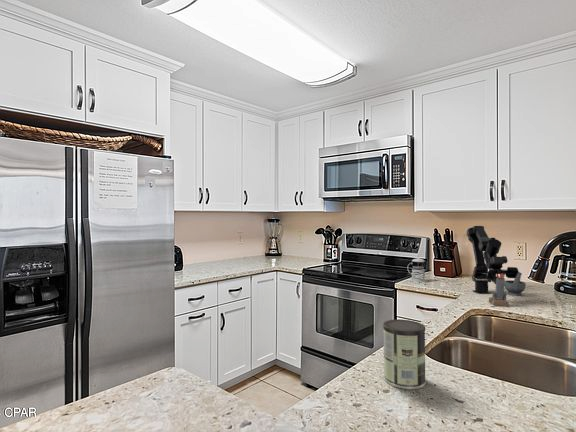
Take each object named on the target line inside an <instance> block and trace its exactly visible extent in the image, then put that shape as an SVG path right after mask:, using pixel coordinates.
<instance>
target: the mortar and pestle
mask: <svg viewBox="0 0 576 432" xmlns="http://www.w3.org/2000/svg"><path fill="white" fill-rule="evenodd" d="M521 278H522V272H520V271H519V272H518V274H517V276H516V278H513V279H514V280H505V283H504V289H505V290H506V291H507V295H508V296H512V297H522V296H523V295H522V293H523V292H524V291H525V289H526V286H527V285H526V282H524V281H521Z"/></svg>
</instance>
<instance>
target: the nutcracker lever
mask: <svg viewBox="0 0 576 432" xmlns="http://www.w3.org/2000/svg"><path fill="white" fill-rule="evenodd" d="M496 276H497V275H496ZM505 281H506V278H505V275H504V274H502V273H498V276H497V278H496V284H495V292H494V293H495V294H496V298H501V299H503V297H504V292H505V286H504V283H505Z"/></svg>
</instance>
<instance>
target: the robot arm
mask: <svg viewBox="0 0 576 432" xmlns="http://www.w3.org/2000/svg"><path fill="white" fill-rule="evenodd" d="M466 237H467V238H468V241H469V242H470V243H471V244H472V248H473V249H472V250H473V255H474V260H475V266H474V268H473V270H472V275H471V281H473V282H474V290H472V292H474V293H477V294H480V295H481V294H482V295H483V294H491V291H489V283H491V282H492V283H494V285H496V278H497V276H498V273H502V274H504V276H505V277H506V278H508V279H515V278H516V276H517V274H518V272H520V271H519V268H518V267H516V266H507V268H506V269H503V265H504V264H507V263H508V257H507V256H506V255H503V256H498V254H499V252H500V250H501V247H502V241H500V240H499V239H496V237H489V235H488V234H487V232H486V230H485V226H483V225H474V226H473V227H470V228H468V229H467V230H466Z"/></svg>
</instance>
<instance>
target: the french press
mask: <svg viewBox="0 0 576 432" xmlns="http://www.w3.org/2000/svg"><path fill="white" fill-rule="evenodd" d="M416 246H420V243H417V244H416ZM413 263H425V260H424V259H422V258H419V257H417V258H413V259H412V260H411V262H410V263H409V264H408V265H407V271H408V274H410V275H411V280H412V281H415V282H425V281H426V279H425V277H426V276H425V275H426V273H425V272H426V271H425V270H426V269H425V267H424V266H421V265H420V266H419V265H414V266H412V269H411V271H410V270H409V265H410V264H413Z"/></svg>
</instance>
